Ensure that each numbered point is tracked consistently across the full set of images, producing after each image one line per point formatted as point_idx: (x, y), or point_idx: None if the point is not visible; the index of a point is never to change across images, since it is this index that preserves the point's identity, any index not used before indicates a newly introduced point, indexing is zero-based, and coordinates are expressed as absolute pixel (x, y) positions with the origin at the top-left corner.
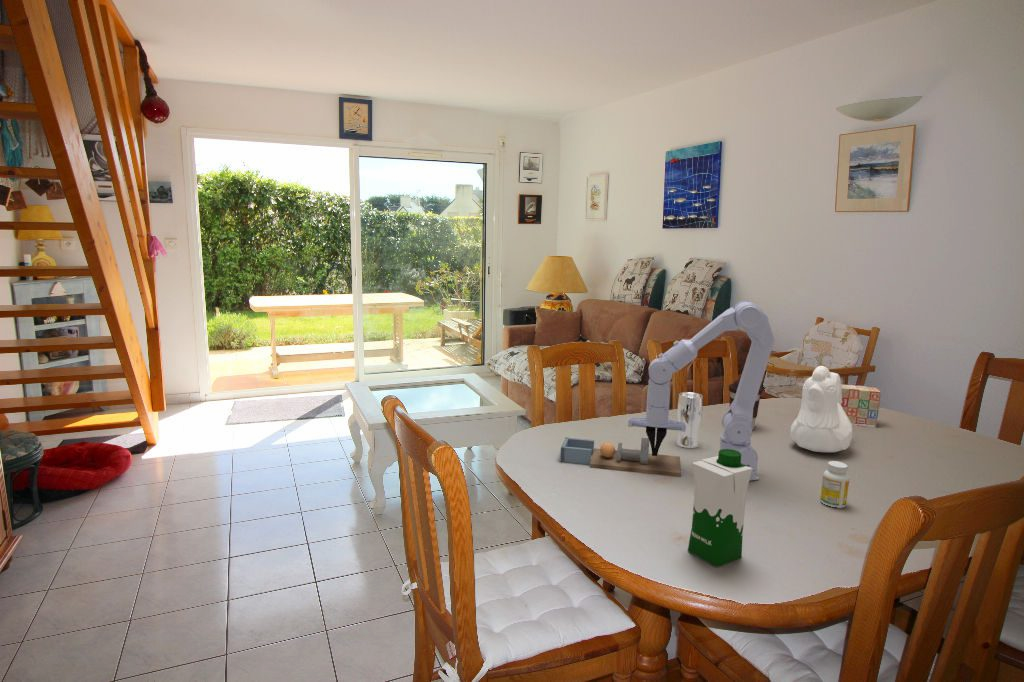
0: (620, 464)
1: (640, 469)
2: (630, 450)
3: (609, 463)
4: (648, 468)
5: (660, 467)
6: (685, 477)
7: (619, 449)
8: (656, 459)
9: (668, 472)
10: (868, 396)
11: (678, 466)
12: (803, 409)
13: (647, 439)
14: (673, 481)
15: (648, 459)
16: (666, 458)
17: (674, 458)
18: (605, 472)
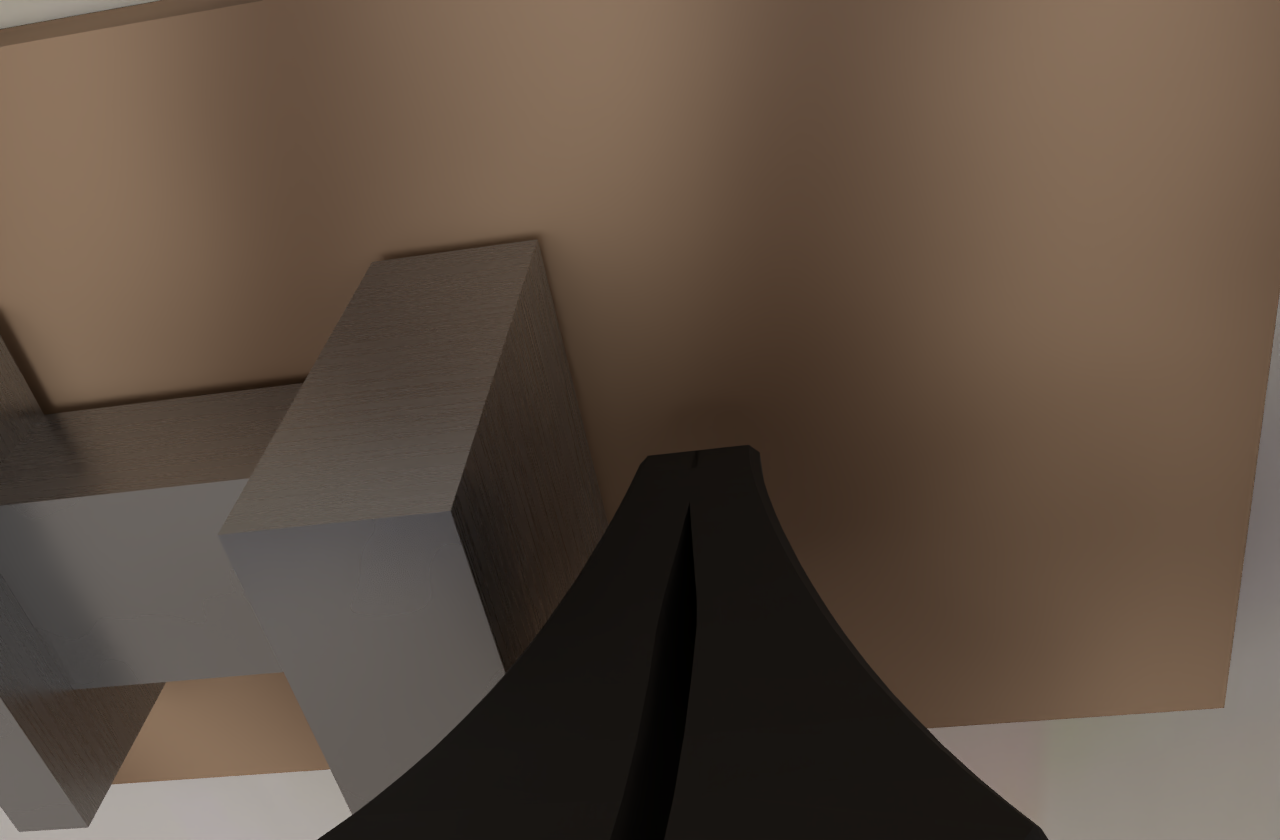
0: (224, 707)
1: None
2: (177, 558)
3: None
4: None
5: (861, 619)
6: (1273, 654)
7: (33, 798)
8: (740, 282)
9: (1002, 714)
10: None
11: (1209, 478)
12: None
13: (431, 607)
14: (1065, 811)
15: (579, 345)
16: (962, 126)
17: (1169, 42)
18: (149, 823)
